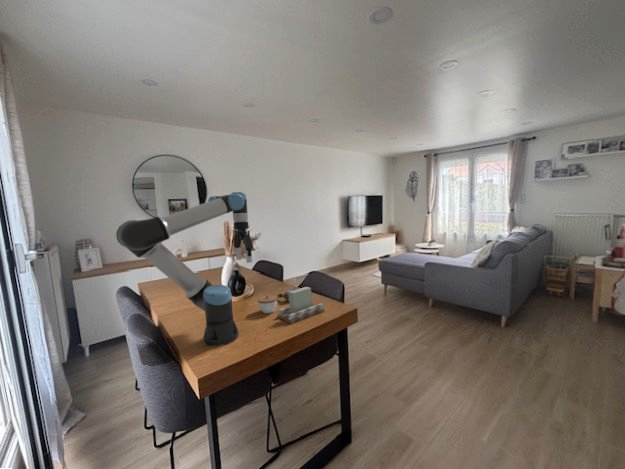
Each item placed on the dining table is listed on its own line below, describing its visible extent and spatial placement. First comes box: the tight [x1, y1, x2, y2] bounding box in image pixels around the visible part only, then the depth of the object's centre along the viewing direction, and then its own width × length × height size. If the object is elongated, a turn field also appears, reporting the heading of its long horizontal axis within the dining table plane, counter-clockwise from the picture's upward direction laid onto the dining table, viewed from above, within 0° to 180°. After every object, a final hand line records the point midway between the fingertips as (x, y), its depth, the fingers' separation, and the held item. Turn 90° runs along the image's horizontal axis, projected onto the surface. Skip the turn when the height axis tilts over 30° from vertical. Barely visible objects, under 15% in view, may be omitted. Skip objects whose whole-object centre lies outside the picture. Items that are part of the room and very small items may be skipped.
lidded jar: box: [257, 294, 278, 314], centre depth 147 cm, size 11×11×9 cm
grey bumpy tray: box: [277, 303, 325, 325], centre depth 141 cm, size 22×13×4 cm, turn 129°
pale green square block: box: [288, 286, 313, 314], centre depth 140 cm, size 4×12×12 cm, turn 129°
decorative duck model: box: [276, 287, 300, 302], centre depth 165 cm, size 15×8×15 cm
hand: (244, 260), depth 140 cm, fingers open, 13 cm apart
